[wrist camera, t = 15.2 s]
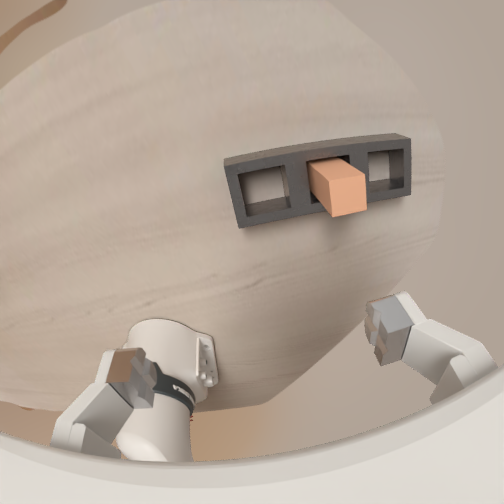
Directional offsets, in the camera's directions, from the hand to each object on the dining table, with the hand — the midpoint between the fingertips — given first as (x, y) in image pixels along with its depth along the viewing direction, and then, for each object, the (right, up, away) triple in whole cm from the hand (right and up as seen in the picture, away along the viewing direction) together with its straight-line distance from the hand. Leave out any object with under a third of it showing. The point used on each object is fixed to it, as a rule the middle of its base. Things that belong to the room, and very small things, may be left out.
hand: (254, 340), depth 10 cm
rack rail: (+9, +14, +27) cm, 31 cm away
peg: (+9, +14, +27) cm, 31 cm away
